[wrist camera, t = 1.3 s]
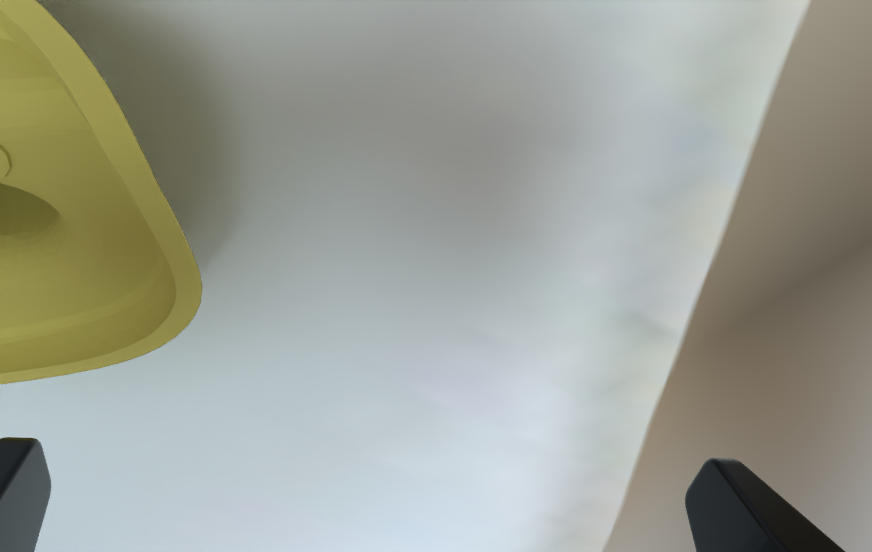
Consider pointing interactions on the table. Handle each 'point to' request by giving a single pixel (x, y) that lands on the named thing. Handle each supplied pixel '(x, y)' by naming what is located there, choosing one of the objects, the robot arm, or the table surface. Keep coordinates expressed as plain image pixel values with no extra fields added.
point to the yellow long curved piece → (78, 215)
